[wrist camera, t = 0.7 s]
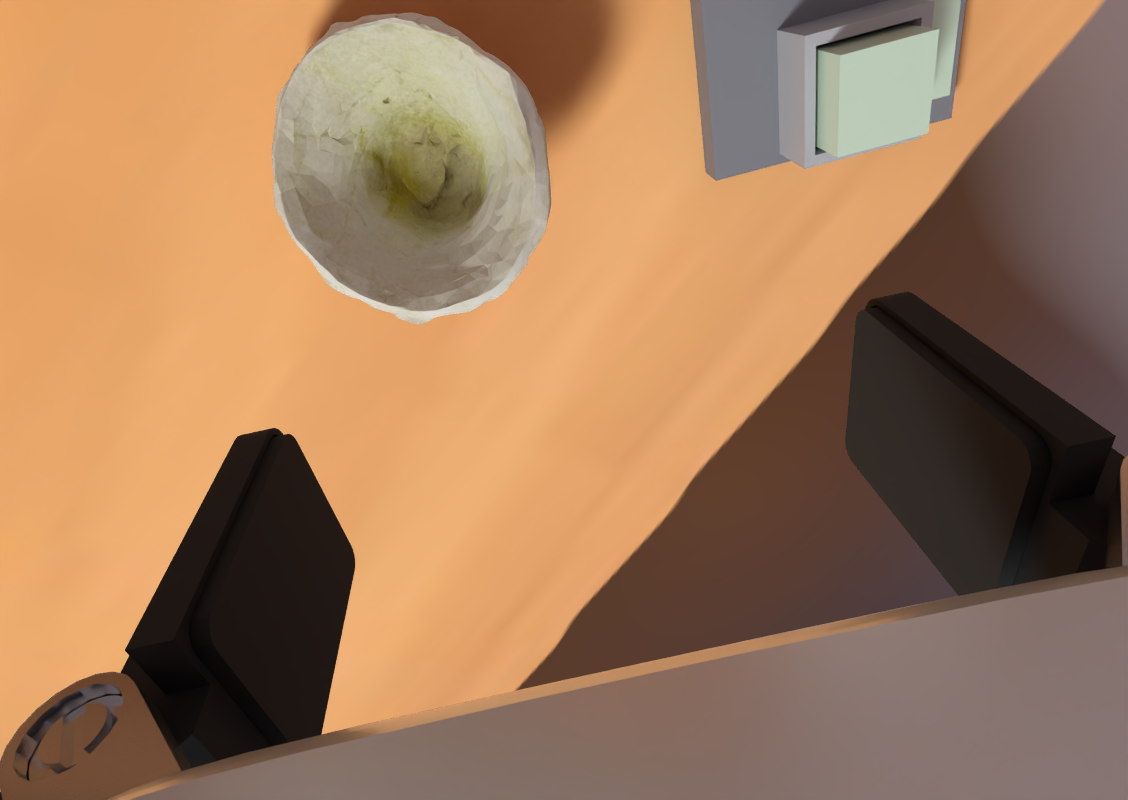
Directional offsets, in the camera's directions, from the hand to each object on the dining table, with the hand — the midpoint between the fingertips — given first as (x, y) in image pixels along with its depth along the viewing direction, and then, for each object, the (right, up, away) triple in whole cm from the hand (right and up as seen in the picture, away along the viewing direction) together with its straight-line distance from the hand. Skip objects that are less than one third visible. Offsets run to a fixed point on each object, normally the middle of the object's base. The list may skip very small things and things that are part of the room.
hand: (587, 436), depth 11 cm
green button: (+16, +18, +25) cm, 34 cm away
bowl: (-9, +16, +28) cm, 33 cm away
